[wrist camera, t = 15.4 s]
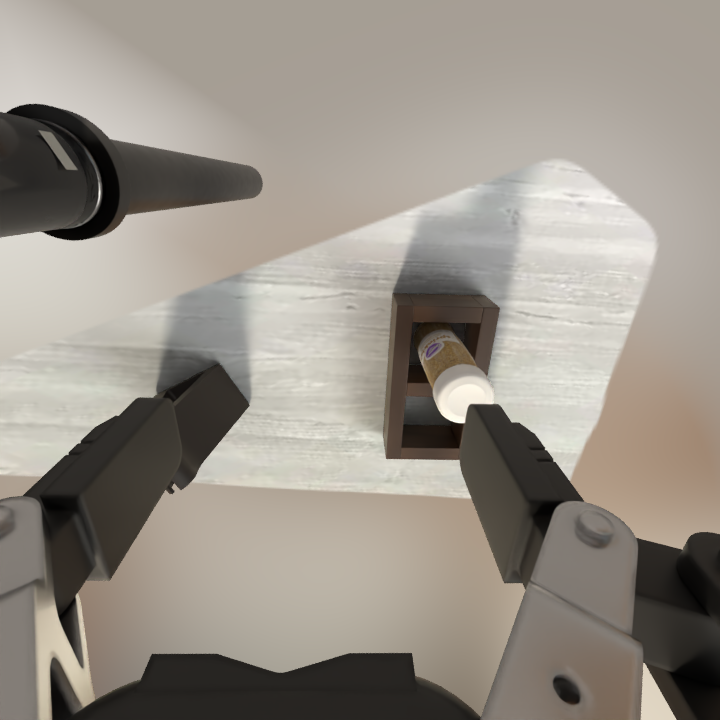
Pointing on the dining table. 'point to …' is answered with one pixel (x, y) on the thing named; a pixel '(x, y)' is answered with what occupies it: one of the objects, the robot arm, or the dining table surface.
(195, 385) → the phone stand
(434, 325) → the sprinkles bottle
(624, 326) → the dining table surface
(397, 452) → the holder
